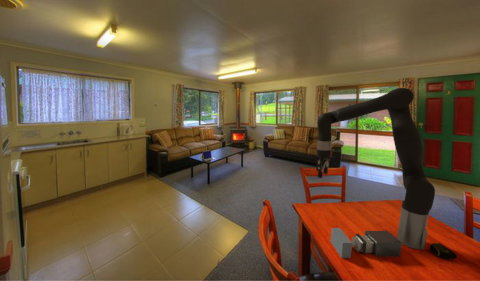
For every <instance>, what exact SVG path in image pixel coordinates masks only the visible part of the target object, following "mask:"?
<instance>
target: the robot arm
mask: <svg viewBox="0 0 480 281" xmlns="http://www.w3.org/2000/svg"><path fill="white" fill-rule="evenodd" d="M414 98H415V94H414V92H413V91H412V90H411V89H410V88H407V87H397V88H394V89H392V90H391V91H388V92H387V93H385V94H383V95H381V96H378V97H375V98H373V99H369V100H368V99H367V100H365V101H362V102H357V103H353V104H350V105H347V106H343V107H341V108H338V109H335V110H332V111H328V112H323V113H320V115H318V118H317V143H316V157H317V158H319V159H317V160H316V167H315V168H316V169H315V171H316V172H317V178H318V179H319V178H320V179H323V174H324V175H328V172H329V171H328V170H329V167H330V166H331V164H330V162H331V157H332V145H333V144H332V136H333V135H332V124H337V123H339V122H345V121H348V120H349V121H350V120H352V119H353V120H354V119H356V118H360V117H364V116H365V115H369V114H374V113H376V112H381V111H386V110H387V112H388V114H389V117H390V118H389V119H390V122H391V130H392V138H393V144H394V147H395V150H396V154H397V158H398V159H399V163H400V165H401V169H402V172H401V173H402V183H403V187H404V189H405V197H404V200H402V202H401V206H400V207H401V209H400V215H399V222H398V229H397V234H396V235H397V236H396V238H397V239H398V240H399V241H400V242H401V243H402V245H404V246H406V247H408V248H411V249H415V250H424V251H425V247H426V242H427V235H428V230H427V225H428V220H429V214H430V211H431V210H432V208H433V204H434V200H435V196H436V189H435V186H434V185H433V183H431V181H429V180H428V179H427V176H426V173H425V170H424V168H423V167H424V166H423V156H424V147H423V142H422V137H421V134H420V132H419V129H418V127H417V125H416V123H415V122H414V119H413V118H412V115H411V107H410V104H411V103H412V102H413V101H414Z"/></svg>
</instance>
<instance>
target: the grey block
mask: <svg viewBox="0 0 480 281" xmlns="http://www.w3.org/2000/svg"><path fill="white" fill-rule="evenodd" d="M330 243H331V244H332V246H333V248H334V249H335V250H336V252H337V254H338V255H339V256H340V258H341V259H351V257H352V251H353V250H352V249H353V246H352V240H351V239H349V237H348V236H347V234H346V233H345V232H344V231H343V230H342V229H341V228H340V227H331V234H330Z"/></svg>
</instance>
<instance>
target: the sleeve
mask: <svg viewBox="0 0 480 281" xmlns="http://www.w3.org/2000/svg"><path fill="white" fill-rule="evenodd" d="M364 235H368V236H369V237H370V238H371V239H372V240H373V241H374V242H375V251H374V253H373V255H374V257H386V258H387V257H388V258H389V257H392V258H393V257H397V258H398V257H399V258H400V257H401V253H402V246H403V244H402V243H401V242H400V241H399V240H398V239H397V237H395V236H394V235H393V234H392V233H391V232H389V231H388V230H365V231H364Z"/></svg>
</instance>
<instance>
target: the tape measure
mask: <svg viewBox="0 0 480 281" xmlns="http://www.w3.org/2000/svg"><path fill="white" fill-rule="evenodd" d="M429 250H430V252H431V254H432V253H433V255H435V256H437V257H438V258H441V259H443V260H447V261H448V260H456V259H457V254H456V252H454V251H452V250H451V249H450V248H448V247H447V246H445V245H444V244H442V243H436V242H432V243H431V244H430V245H429Z"/></svg>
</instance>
